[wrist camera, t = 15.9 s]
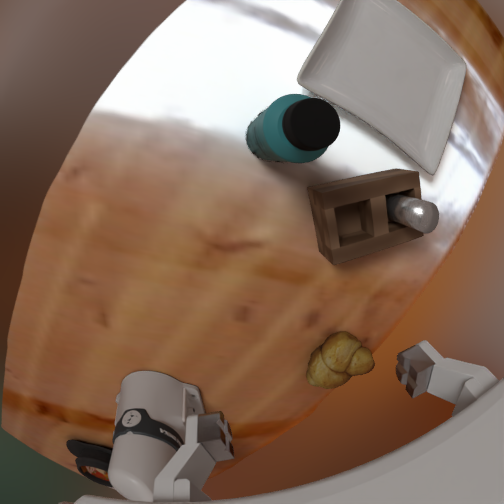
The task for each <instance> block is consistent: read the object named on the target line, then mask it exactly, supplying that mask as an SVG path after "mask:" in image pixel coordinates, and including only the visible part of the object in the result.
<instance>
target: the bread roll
mask: <svg viewBox="0 0 504 504" xmlns="http://www.w3.org/2000/svg"><path fill="white" fill-rule="evenodd" d="M374 366H375V363H374V360H373V357H372V353H371V352H370V350H369V349H367V348H365V347H362V344H361V342H359V341H358V339H357V338H356V337H354V336H352V335H351V334H349V333H348V332H337V333H334V334H332V335H330V336H329V337H328V338H327V339H326V340H325V342H324V343H323V344H322V345H320V346H319V347H318V348H316V350H315V351H314V352H313V353H312V354H311V358H310V361H309V363H308V370H307V375H306V377H307V381H308V383H309V384H311V385H313V386H317V387H318V386H320V387H323V388H325V389H332V388H336V387H338V386H341V385H343V384H345V383H346V382H347V381H348V380H349V379H350V378H351V377H352V376H355V375H363V374H366V373H369V372H370V371H371V370H372V369H373V368H374Z"/></svg>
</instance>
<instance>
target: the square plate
mask: <svg viewBox="0 0 504 504" xmlns="http://www.w3.org/2000/svg"><path fill="white" fill-rule="evenodd" d="M465 73H466V63H465V62H464V61H463V59H462V58H461V57H460V56H459V55H458V54H457V53H456V52H455V51H454V50H453V49H452V48H451V47H450V46H449V45H448V44H447V43H446V42H445V41H444V40H443V39H442V38H441V37H440V36H439V35H438V34H437V33H436V32H435V31H434V30H433V29H431V28H430V27H429V26H428V25H427V24H426V23H425V22H423V21H422V20H421V19H420V18H419V17H417V16H416V15H415V14H414V13H413V12H411V11H410V10H409V9H407V8H406V7H405V6H403V5H402V4H401V3H399V2H398V1H397V0H340V2H339V4H338V6H337V8H336V9H335V11H334V13H333V15H332V17H331V19H330V20H329V22H328V24H327V26H326V27H325V29H324V31H323V32H322V34H321V36H320V37H319V39H318V40H317V42H316V44H315V45H314V47H313V49H312V50H311V52H310V54H309V55H308V57H307V59H306V60H305V62H304V64H303V66H302V68H301V70H300V72H299V74H298V77H297V82H298V84H299V85H301V86H302V87H304V88H305V89H307V90H309V91H311V92H313V93H314V94H316V95H318V96H320V97H322V98H324V99H326V100H328V101H330V102H332V103H334V104H335V105H337V106H339V107H341V108H343V109H344V110H346V111H348V112H350V113H351V114H353V115H355V116H356V117H358V118H359V119H361V120H363V121H364V122H366V123H367V124H369V125H370V126H372V127H373V128H375V129H376V130H377V131H379V132H380V133H381V134H383V135H384V136H385V137H387V138H388V139H389V140H391V141H392V142H393V143H394V144H395V145H397V146H398V147H399V148H400V149H401V150H403V151H404V152H405V153H406V154H407V155H408V156H409V157H410V158H412V159H413V160H414V161H415V162H416V163H417V164H418V165H419V166H420V167H421V168H423V169H424V170H425V171H426V172H427V173H429V174H431V175H434V174H435V172H436V170H437V168H438V165H439V163H440V160H441V157H442V155H443V152H444V149H445V146H446V143H447V140H448V137H449V134H450V131H451V128H452V124H453V121H454V117H455V114H456V110H457V107H458V103H459V99H460V95H461V91H462V87H463V83H464V78H465Z"/></svg>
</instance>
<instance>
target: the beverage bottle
mask: <svg viewBox="0 0 504 504" xmlns="http://www.w3.org/2000/svg"><path fill="white" fill-rule="evenodd" d="M265 109H266V108H265ZM262 111H263V112H261V113H259V115H258V117H257V118H256V119H255V118H254V119H255V120H254V121H253V122H252V121H251V123H249V124H250V125H249V126H248V128H247V129H248V130H247V134H246V133H245V134H246V141H247V145H248V147H249V149H250V150H251V151H252V153H253V154H254V156H255V155H256V156H257V157H258V158H261V159H264V160H272V161H275V162H281V161H285V162H293V163H306V162H310V161H313V160H315V159H317V158H319V157H320V156H321V155H322V154H323V153H324V152H325V151H326V150H327V148H328V146H329V145H331V144H332V143H333V142H334V141H335V140H336V138H337V137H338V134H339V132H340V119H339V116H338V114H337V112H336V110H335V109H334V108H333V107H332V106H331V105H330V104H329V103H327V102H326V101H324V100H321V99H318V98H311V97H308V96H306V95H301V94H289V95H285V96H282V97H280V98H278V99H277V100H275V101H274V102H273V103H272V104H271V105H270V106H269V107H267V109H266V110H262ZM250 150H249V151H250ZM269 162H271V161H269ZM281 163H283V162H281Z"/></svg>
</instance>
